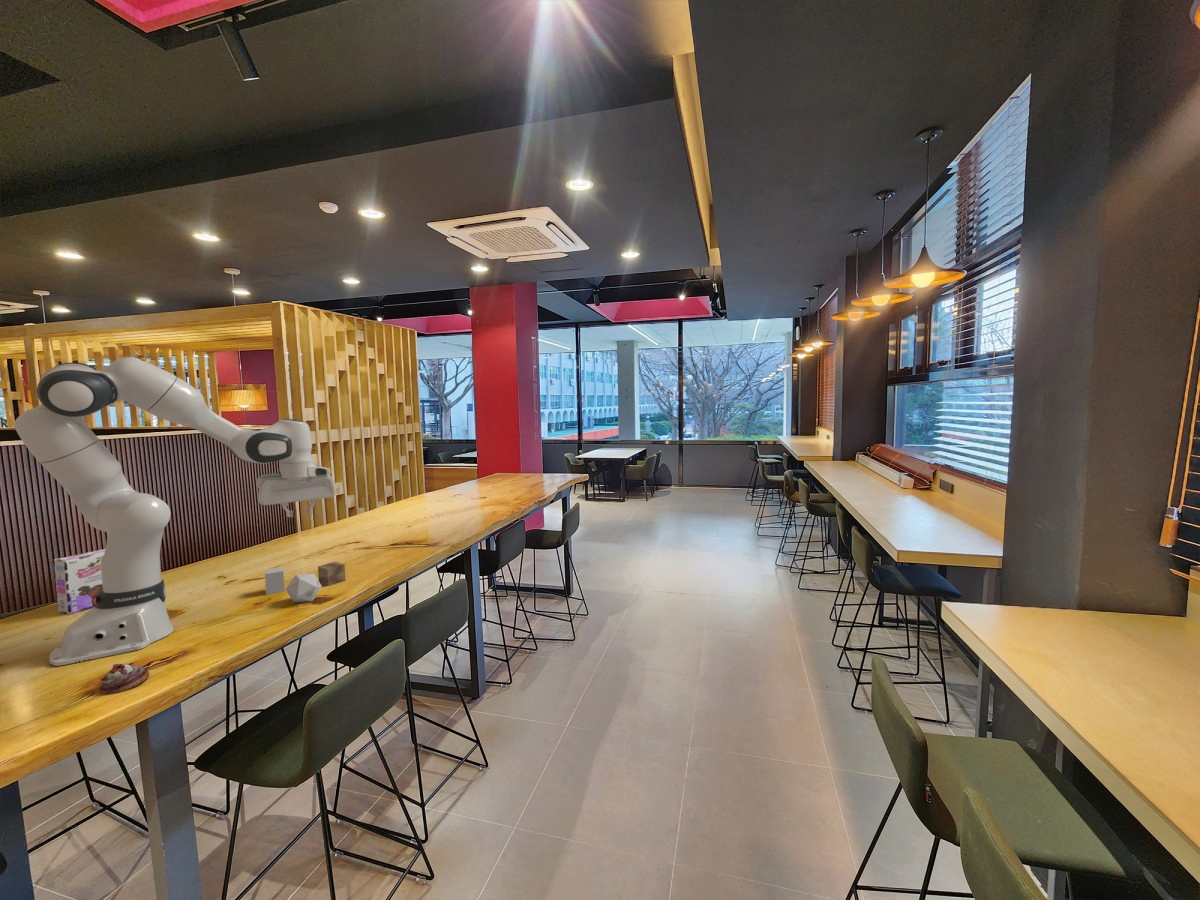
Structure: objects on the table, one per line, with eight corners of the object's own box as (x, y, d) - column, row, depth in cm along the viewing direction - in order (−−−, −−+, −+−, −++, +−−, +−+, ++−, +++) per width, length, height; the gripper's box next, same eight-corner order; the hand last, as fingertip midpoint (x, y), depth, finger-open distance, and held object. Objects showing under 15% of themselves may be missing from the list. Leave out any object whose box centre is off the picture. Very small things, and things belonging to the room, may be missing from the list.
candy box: (69, 615, 142) (63, 560, 140) (57, 612, 143) (52, 559, 142) (127, 597, 155) (123, 548, 153) (116, 595, 156) (111, 546, 155)
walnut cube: (328, 586, 163) (327, 569, 163) (318, 583, 166) (317, 566, 166) (345, 580, 168) (344, 564, 168) (335, 578, 171) (335, 561, 171)
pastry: (89, 693, 102) (87, 670, 101) (130, 674, 109) (128, 653, 109) (120, 696, 100) (118, 673, 100) (159, 677, 108) (157, 655, 107)
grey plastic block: (266, 595, 156) (264, 574, 155) (266, 590, 160) (265, 570, 159) (284, 591, 159) (283, 571, 158) (284, 587, 163) (283, 567, 162)
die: (300, 609, 145) (321, 579, 149) (274, 595, 145) (296, 565, 148) (311, 609, 153) (331, 580, 157) (286, 595, 153) (307, 567, 156)
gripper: (257, 475, 138) (260, 522, 140) (335, 469, 153) (338, 512, 154) (254, 473, 143) (257, 519, 144) (330, 467, 157) (332, 509, 158)
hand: (299, 515), depth 149 cm, fingers open, 4 cm apart
